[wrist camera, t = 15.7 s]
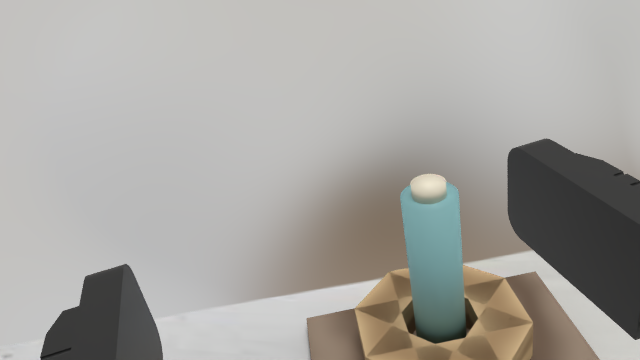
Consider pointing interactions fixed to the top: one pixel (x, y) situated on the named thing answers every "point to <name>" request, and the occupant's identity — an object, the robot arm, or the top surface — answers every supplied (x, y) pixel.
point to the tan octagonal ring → (452, 356)
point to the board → (548, 328)
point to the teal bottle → (434, 257)
